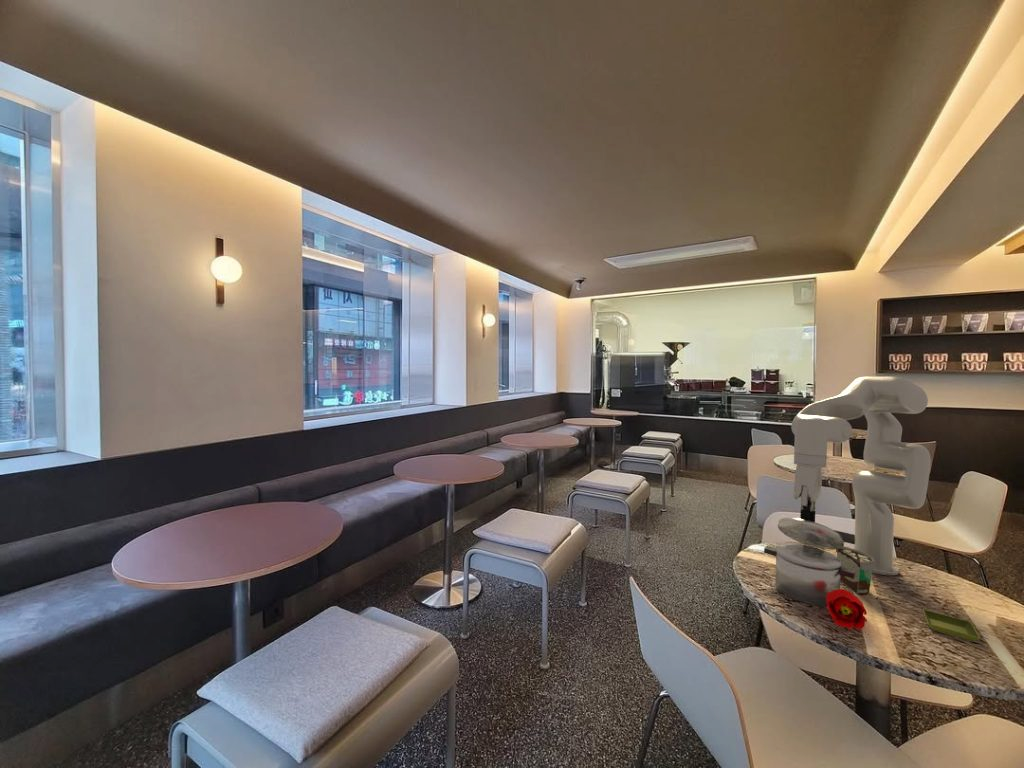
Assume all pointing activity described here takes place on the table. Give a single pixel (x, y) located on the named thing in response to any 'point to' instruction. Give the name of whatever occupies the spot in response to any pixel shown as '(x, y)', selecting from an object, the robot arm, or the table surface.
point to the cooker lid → (814, 534)
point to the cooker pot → (807, 572)
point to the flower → (846, 609)
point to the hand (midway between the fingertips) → (807, 523)
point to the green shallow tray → (951, 625)
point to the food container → (857, 569)
